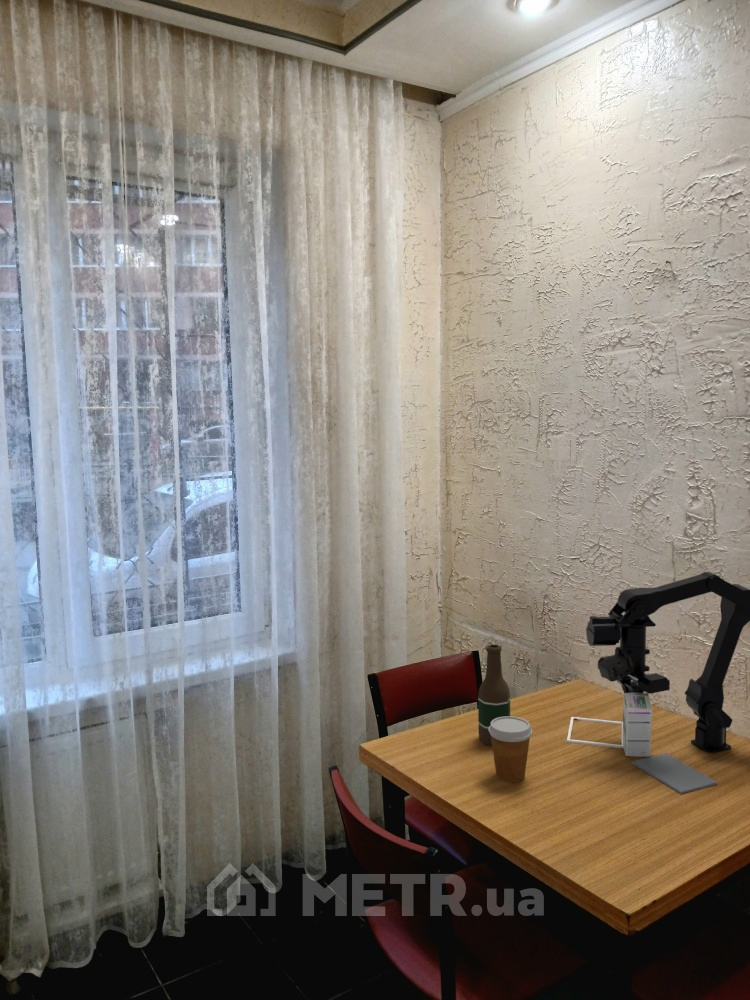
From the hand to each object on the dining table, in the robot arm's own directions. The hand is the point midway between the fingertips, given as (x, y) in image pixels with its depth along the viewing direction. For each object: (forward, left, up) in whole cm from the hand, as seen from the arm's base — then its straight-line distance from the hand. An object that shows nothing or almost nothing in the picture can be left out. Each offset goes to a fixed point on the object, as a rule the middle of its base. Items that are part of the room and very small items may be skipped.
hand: (631, 708), depth 178 cm
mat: (0, +14, -10) cm, 17 cm away
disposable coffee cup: (+33, 0, -10) cm, 35 cm away
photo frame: (0, -9, -11) cm, 14 cm away
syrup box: (0, +2, -9) cm, 9 cm away
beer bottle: (+27, -17, -10) cm, 34 cm away
